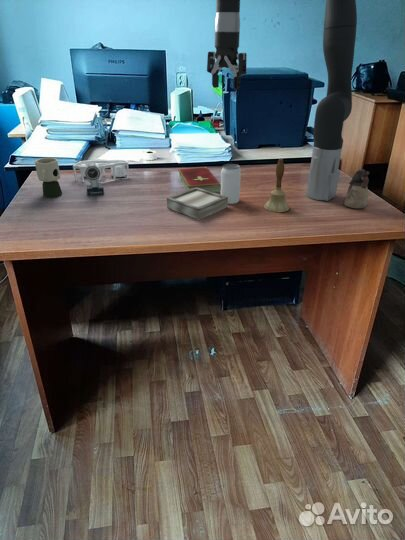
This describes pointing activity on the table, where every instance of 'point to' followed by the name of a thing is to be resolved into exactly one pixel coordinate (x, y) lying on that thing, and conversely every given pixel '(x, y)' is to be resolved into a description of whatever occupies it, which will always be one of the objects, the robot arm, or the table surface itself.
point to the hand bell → (278, 193)
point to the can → (231, 182)
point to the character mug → (49, 176)
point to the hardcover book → (199, 179)
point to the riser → (197, 202)
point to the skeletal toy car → (115, 165)
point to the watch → (93, 180)
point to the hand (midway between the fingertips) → (225, 88)
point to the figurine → (357, 190)
